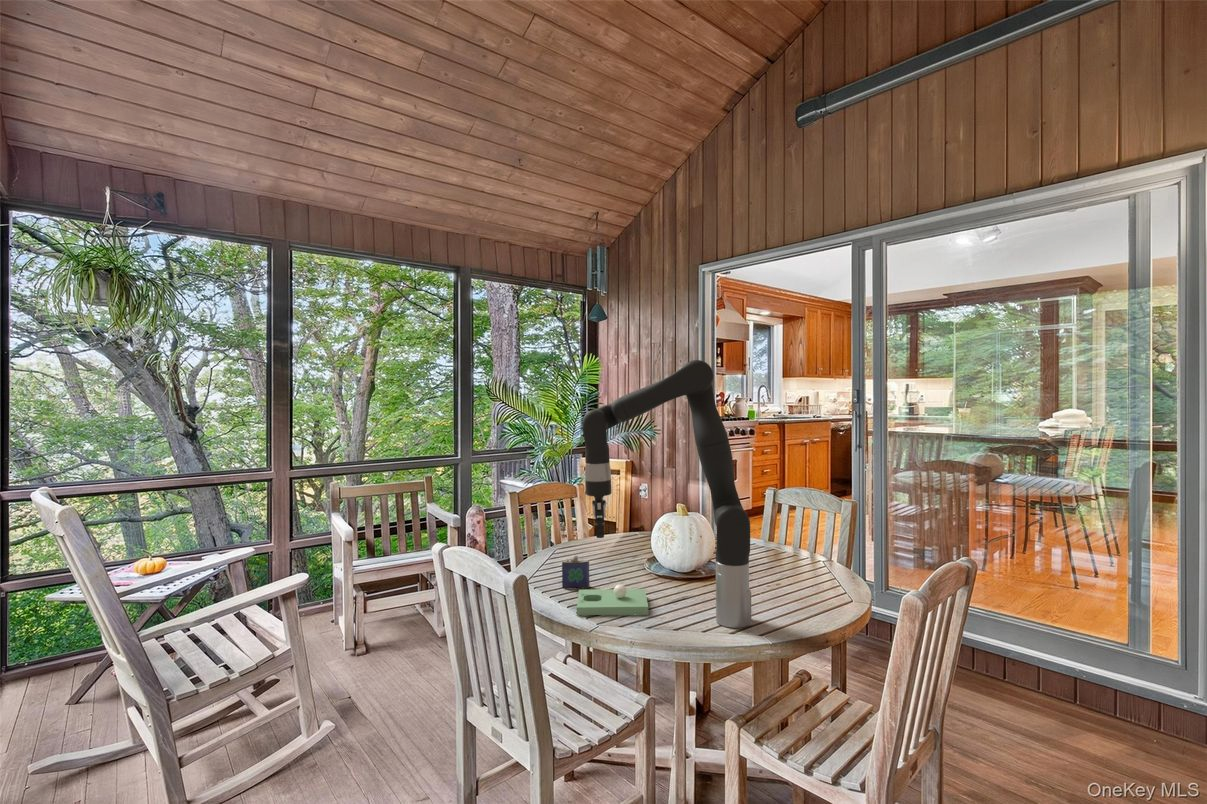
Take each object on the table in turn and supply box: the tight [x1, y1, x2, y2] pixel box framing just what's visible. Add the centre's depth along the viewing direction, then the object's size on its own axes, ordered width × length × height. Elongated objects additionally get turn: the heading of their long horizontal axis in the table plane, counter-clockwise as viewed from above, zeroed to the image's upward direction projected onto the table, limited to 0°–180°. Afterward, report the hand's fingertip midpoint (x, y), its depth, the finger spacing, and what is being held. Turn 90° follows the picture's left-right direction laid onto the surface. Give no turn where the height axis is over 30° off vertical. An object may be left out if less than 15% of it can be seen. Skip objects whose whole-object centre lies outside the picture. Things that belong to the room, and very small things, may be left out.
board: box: [576, 588, 649, 616], centre depth 173 cm, size 21×15×2 cm
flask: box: [561, 555, 590, 589], centre depth 189 cm, size 9×3×11 cm, turn 95°
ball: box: [613, 583, 627, 598], centre depth 173 cm, size 4×4×4 cm
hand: (600, 534), depth 163 cm, fingers open, 8 cm apart
